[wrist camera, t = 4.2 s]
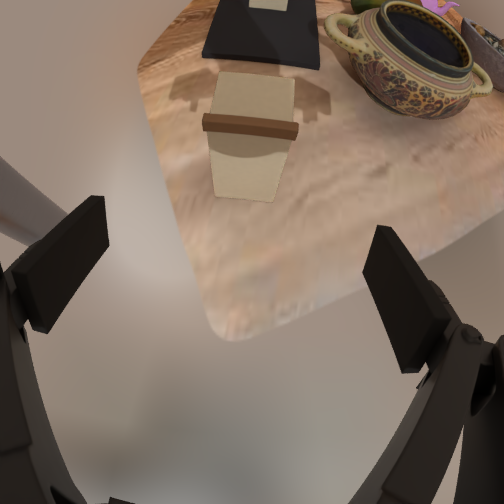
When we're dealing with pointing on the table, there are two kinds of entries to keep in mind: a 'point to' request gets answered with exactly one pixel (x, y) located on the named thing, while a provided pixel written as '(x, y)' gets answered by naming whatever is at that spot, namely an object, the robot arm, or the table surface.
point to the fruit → (372, 4)
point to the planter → (485, 51)
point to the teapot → (432, 4)
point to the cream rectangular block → (250, 134)
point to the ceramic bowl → (410, 59)
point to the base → (265, 32)
